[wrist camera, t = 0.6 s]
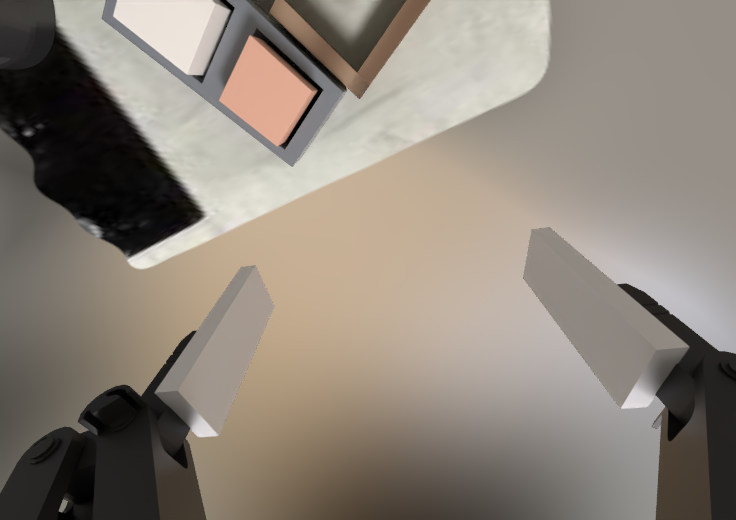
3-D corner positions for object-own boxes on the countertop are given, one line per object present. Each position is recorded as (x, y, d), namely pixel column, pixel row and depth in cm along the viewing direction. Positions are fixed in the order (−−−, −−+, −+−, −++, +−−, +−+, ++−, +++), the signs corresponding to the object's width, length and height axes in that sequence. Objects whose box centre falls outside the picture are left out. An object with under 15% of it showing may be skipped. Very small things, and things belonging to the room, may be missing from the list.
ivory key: (139, 22, 25) (112, 16, 22) (162, -53, 22) (134, -70, 20) (204, 75, 27) (186, 74, 24) (232, 11, 24) (215, 3, 22)
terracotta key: (233, 98, 28) (218, 100, 25) (262, 39, 25) (249, 34, 22) (285, 141, 30) (277, 146, 27) (318, 90, 27) (311, 91, 24)
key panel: (135, 26, 27) (101, 18, 24) (167, -81, 23) (131, -108, 20) (300, 158, 33) (292, 167, 30) (346, 91, 30) (342, 92, 26)
